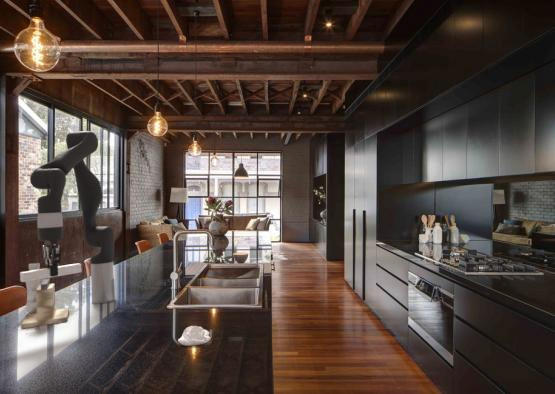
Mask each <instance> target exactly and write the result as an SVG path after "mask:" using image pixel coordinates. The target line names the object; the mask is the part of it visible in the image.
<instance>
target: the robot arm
mask: <svg viewBox="0 0 555 394" xmlns="http://www.w3.org/2000/svg"><path fill="white" fill-rule="evenodd" d="M65 143H66V148H67V149H66V150H63V151H61V152H60V153H58V154H56V155H55V156H54V158H52V159H51V160H50V161H49V162H47V163H45V164H42V165H40V166H39V167H37V168H35V169H34V170H33V171H32V173H31V174H30V177H29V180H30V181H29V182H30V184H31V186H32V187H33V188H35V189H37V190H50V191H49V192H48V194H46V195H43V196H40V197H38V198H37V222H36V223H37V239H38V241H43V242H44V245H42V246H41V251H42V258H43V262H44V263H45V265H46V268H50V276H52V277H51V278H54V277H53V276H57V275H58V266H59V265H60V264H61V259H62V251H63V248H62V247H60V244H59V241H58V240H62V239H64V222H63V221H64V220H63V214H62V213H63V212H62V199H63V194H64V190H65V188H66V183H67V175H68V174H69V173H70V172H71V171H72V170H73V173H74V177H75V183H76V189H77V194H78V198H79V204H80V209H81V215H82V223H83V234H84V240H85V243H86V245H87V246H88V247H90V248H100V251H99V253H97V254H95V255H93V256H91V257H90V283H91V285H90V287H91V303H92V304H105V303H110V302H114V301H116V290H115V289H116V288H115V287H116V286H115V272H114V270H115V269H114V257H115V231H114V229H113V227H112V226H108V225H107V226H106V225H105V226H98V225H97V213H98V210H99V208H100V205H101V203H102V201H103V198H104V197H103V190H102V185H101V182H100V180H99V178H98V177H97V176H96V175H95V174H94V172H92V170H91V169H89V167H88V166H87V164H86V162H85V160H84V159H85V158H87V157H89V156H90V155H92V154H93V153H95V152H96V151H97V150H98V148H99V139H98V136H97V135H96V133H94V132H93V131H90V130H84V131H83V130H82V131H71V132H68V133H67V135H66V137H65ZM57 277H58V276H57Z"/></svg>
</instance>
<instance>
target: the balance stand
mask: <svg viewBox="0 0 555 394" xmlns="http://www.w3.org/2000/svg"><path fill="white" fill-rule="evenodd" d="M55 290H56V288H55V283H51V278H45V279H44V280H43V282H42V284H41V285H39V287H38V288H37V290H36V300H37V313H27V314H26V315H25V318H24V319H23V321H22V323H21V324H20V326H21V329H22V330H23V329H28V328H33V327H34V328H35V327H39V326H40V327H41V326H46V325H51V324H59V323H65V322H68V319H69V313H70V307H69V308H60V309H56V291H55Z"/></svg>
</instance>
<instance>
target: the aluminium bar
mask: <svg viewBox="0 0 555 394" xmlns="http://www.w3.org/2000/svg"><path fill="white" fill-rule="evenodd" d="M82 272H83V271H82V263H72V264H71V263H70V264H65V265H58V275H57V276H53V277H52V276H50V268H47V267H46V268H45V267H43V268H39V269H38V270H31V271H29V270H27V271H20V272H19V277H20V278H19V280H20V282H21V283H26V282H27V281H33V280H39V279H51V278H56V277H61V276H67V275H73V274H79V273H80V274H81V273H82Z"/></svg>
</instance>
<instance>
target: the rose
mask: <svg viewBox="0 0 555 394" xmlns="http://www.w3.org/2000/svg"><path fill="white" fill-rule="evenodd" d="M209 335H210V331H208V330H207V329H204V327H202V326H197V325H190V326H188V327H186V328H185V329H184V330H183V333H182V335H181V337H180V338H178V340H177V342H178V343H179V344H180V345H182V346H195V345H196V346H197V345H203V344H207V343H208V342H210V341H211V336H209Z"/></svg>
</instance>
